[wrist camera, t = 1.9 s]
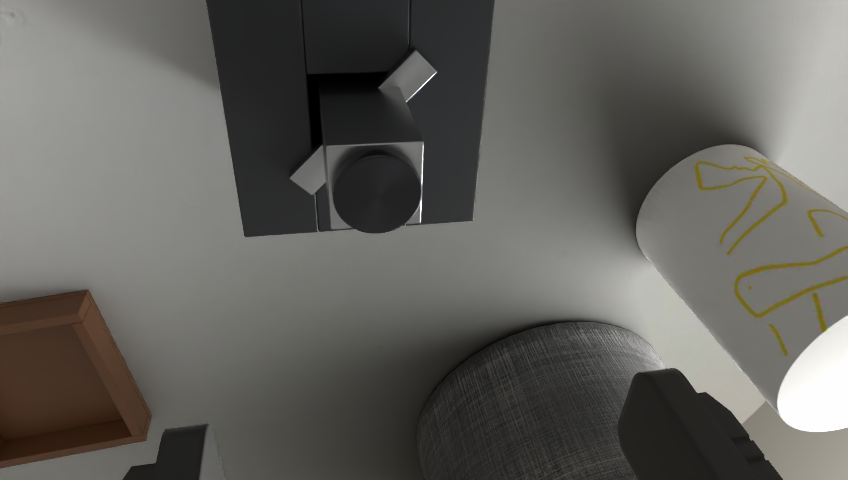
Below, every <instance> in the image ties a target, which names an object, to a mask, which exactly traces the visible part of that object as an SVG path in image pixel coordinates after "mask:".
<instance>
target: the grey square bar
mask: <svg viewBox="0 0 848 480" xmlns="http://www.w3.org/2000/svg"><path fill="white" fill-rule="evenodd" d="M436 73H437V70H436V69H435V67H434V66H433V65H432V64H431V63H430V62H429V61H428V60H427V59H426V58H425V57H424V56H423V55H422V54H421V53H420V52H419V51H418V50H417V49H416V48H415V47H413V48H412V49H411V50H410V51H409V52H408V53H407V54H406V55H405V56H404V57H403V58H402V59H401V60H400V61H399V62H398V63H397V64H396V65H395V66H394V67H393V68H392V69H391V70H390V71H389V72H375V73H338V74H315V87H316V96H317V105H318V114H319V123H320V132H321V141H320V142H319V143H318V144H317V145H316V146H315V147H314V148H313V149H312V150H311V152H310V153H309V154H308V155H307V156H306V157H305V158H304V159H303V160H302V161H301V162H300V163H299V164H298V165H297V166H296V167H295V168H294V169H293V170H292V171H291V172H290V173H289V178H290V179H291V180H292V181H293V182H295V183H296V184H297V185H299V186H300V187H301V188H303V189H304V190H305V191H307V192H308V193H310V194H311V195H313V194H314V193H315V192H316V191H317V190H318V189H319V188H320V187H321V186H322V185H323V184H324V183H325V182H326V188H327V197H328V206H329V215H330V224H331V229H346V228H354V229H356V230H358V231H361V232H366V233H385V232H389V231H392V230H395V229H397V228H399V227H401V226H402V225H404V224H415V223H421V205H422V193H423V192H422V179H423V153H424V141H423V139H422V137H421V135H420V132H419V130H418V128H417V125H416V123H415V121H414V119H413V116H412V114H411V112H410V109H409V107H408V105H407V103H406V102H407V101H408V100H409V99H410V98H411V97H412V96H413V95H414V94H415V93H416V92H417V91H418V90H419V89H420V88H422V87H423V86H424V85H425V84H426V83H427V82H428V81H429V80H430V79H431V78H432V77H433V76H434V75H435V74H436Z"/></svg>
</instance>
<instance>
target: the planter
mask: <svg viewBox="0 0 848 480" xmlns="http://www.w3.org/2000/svg"><path fill="white" fill-rule="evenodd" d="M661 369H666V367H665V366H664V364H663V363H662V361H661V359H660V358H659V356H658V355H657V353H656V352H655V351H654V349H653V348H652V347H651V346H650V345H649V344H648V343H647V342H646V341H645V340H643V339H642V338H641V337H639V336H638V335H636V334H634V333H632V332H630V331H628V330H625V329H623V328H620V327H617V326H613V325H608V324H603V323H596V322H565V323H557V324H551V325H546V326H541V327H537V328H533V329H529V330H526V331H523V332H520V333H517V334H514V335H512V336H509V337H507V338H505V339H502V340H500V341H498V342H496V343H494V344H492V345H490V346H488V347H486V348H484V349H483V350H481V351H479V352H478V353H476V354H475V355H473V356H471V357H470V358H469V359H467V360H466V361H465V362H463V363H462V364H461V365H459V366H458V367H457V368H456V369H455V370H453V371H452V372H451V373H450V374H449V375H448V376H447V377H446V378H445V379H444V380H443V381H442V382H441V383H440V385H439V386H438V387H437V388H436V390H435V391H434V392H433V394H432V395H431V397H430V398H429V400H428V401H427V403H426V405H425V407H424V409H423V411H422V413H421V416H420V419H419V423H418V427H417V434H416V442H417V449H418V454H419V457H420V462H421V466H422V471H423V475H424V480H638V479H637V478H636V476H635V474H634V472H633V470H632V468H631V466H630V465H629V463H628V461H627V459H626V457H625V455H624V453H623V451H622V449H621V446H620V442H619V437H618V421H619V418H620V415H621V412H622V409H623V406H624V403H625V400H626V397H627V394H628V391H629V388H630V385H631V382H632V379H633V377H634V375H635V374H636V373H638V372H645V371H653V370H661Z"/></svg>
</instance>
